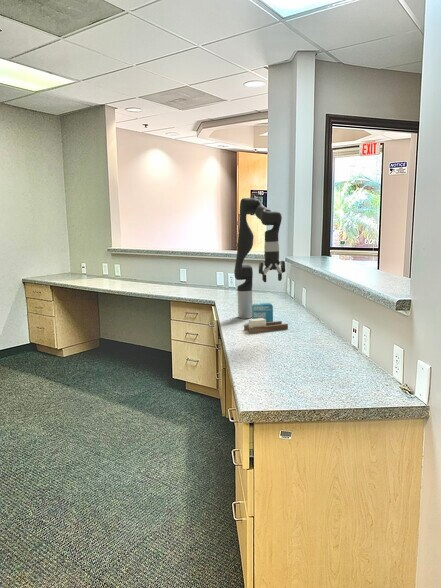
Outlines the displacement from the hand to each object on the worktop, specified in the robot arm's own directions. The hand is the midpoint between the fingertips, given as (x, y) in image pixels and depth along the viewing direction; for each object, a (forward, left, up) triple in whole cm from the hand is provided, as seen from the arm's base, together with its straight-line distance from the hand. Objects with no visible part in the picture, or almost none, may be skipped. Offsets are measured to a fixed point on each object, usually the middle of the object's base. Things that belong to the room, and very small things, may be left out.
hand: (272, 281), depth 222 cm
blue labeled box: (-22, +4, -28) cm, 36 cm away
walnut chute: (-4, -2, -28) cm, 28 cm away
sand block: (-4, -7, -27) cm, 28 cm away
